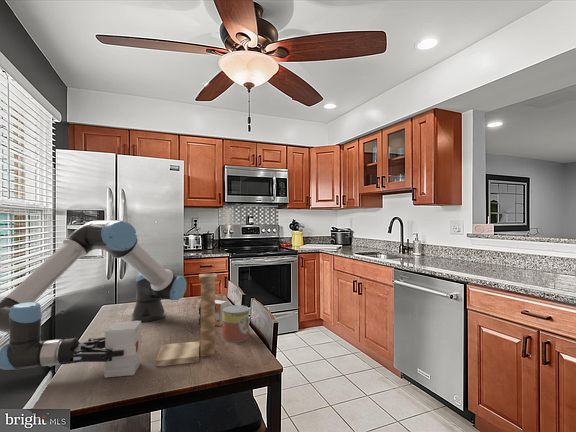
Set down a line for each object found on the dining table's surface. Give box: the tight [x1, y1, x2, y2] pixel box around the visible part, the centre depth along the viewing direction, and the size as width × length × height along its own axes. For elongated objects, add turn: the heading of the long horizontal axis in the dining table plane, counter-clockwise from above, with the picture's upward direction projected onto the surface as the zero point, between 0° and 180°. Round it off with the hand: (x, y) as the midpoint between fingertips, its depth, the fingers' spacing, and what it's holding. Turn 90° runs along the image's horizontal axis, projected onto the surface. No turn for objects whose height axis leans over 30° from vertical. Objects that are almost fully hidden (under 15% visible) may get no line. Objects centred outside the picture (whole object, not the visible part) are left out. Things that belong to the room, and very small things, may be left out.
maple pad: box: [155, 340, 200, 368], centre depth 116 cm, size 14×14×2 cm
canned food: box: [221, 304, 250, 343], centre depth 134 cm, size 11×11×12 cm
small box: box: [215, 299, 228, 327], centre depth 151 cm, size 8×6×10 cm
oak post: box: [198, 272, 218, 357], centre depth 118 cm, size 6×6×29 cm
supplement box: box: [104, 320, 142, 378], centre depth 104 cm, size 9×9×15 cm
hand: (138, 344), depth 105 cm, fingers closed on supplement box, 9 cm apart
